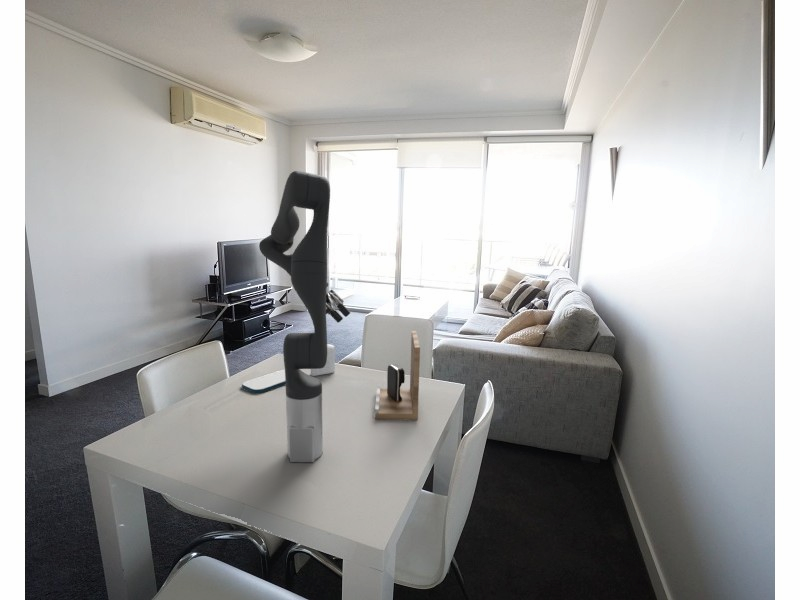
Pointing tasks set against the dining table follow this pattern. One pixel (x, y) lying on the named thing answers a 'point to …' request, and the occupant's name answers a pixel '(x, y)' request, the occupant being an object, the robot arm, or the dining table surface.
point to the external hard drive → (265, 382)
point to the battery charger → (395, 381)
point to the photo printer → (327, 363)
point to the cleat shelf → (402, 392)
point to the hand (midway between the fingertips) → (344, 317)
